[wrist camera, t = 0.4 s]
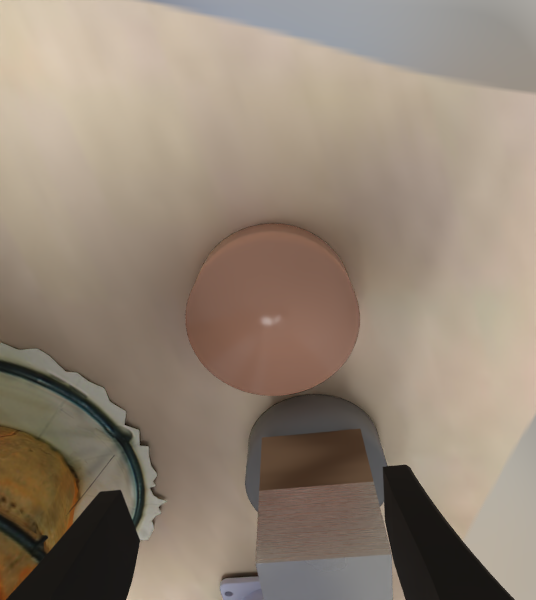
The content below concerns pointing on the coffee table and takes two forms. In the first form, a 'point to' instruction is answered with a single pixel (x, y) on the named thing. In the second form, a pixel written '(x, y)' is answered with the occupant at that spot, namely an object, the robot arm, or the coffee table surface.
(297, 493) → the housing
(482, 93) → the coffee table surface
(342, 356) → the stand
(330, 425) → the stand
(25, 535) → the decorative vase
